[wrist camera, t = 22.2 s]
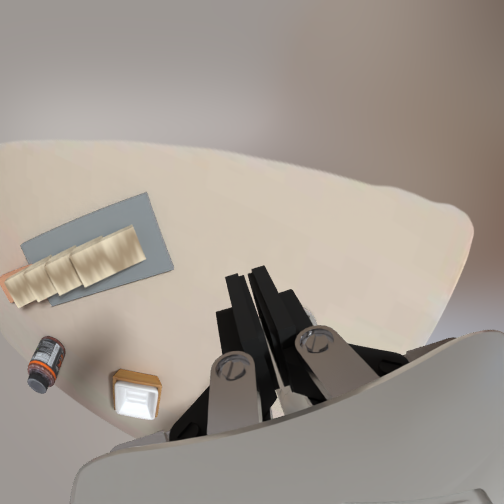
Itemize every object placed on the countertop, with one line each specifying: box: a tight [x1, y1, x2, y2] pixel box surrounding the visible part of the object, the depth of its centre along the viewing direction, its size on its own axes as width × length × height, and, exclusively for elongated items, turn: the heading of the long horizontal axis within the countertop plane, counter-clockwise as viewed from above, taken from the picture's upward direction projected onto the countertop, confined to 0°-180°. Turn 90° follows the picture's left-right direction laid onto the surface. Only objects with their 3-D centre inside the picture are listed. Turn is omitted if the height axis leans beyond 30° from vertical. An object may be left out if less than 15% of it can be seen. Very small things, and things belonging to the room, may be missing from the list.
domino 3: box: [23, 245, 76, 302], centre depth 35 cm, size 5×2×10 cm
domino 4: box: [44, 236, 103, 296], centre depth 35 cm, size 5×2×10 cm
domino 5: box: [70, 225, 146, 287], centre depth 36 cm, size 5×2×10 cm
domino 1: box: [0, 264, 32, 303], centre depth 36 cm, size 5×2×10 cm
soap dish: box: [113, 369, 162, 420], centre depth 49 cm, size 12×10×5 cm
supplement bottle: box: [28, 336, 65, 394], centre depth 39 cm, size 6×6×11 cm
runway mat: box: [20, 192, 174, 306], centre depth 38 cm, size 12×24×1 cm, turn 103°
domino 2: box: [4, 255, 52, 308], centre depth 34 cm, size 5×2×10 cm
